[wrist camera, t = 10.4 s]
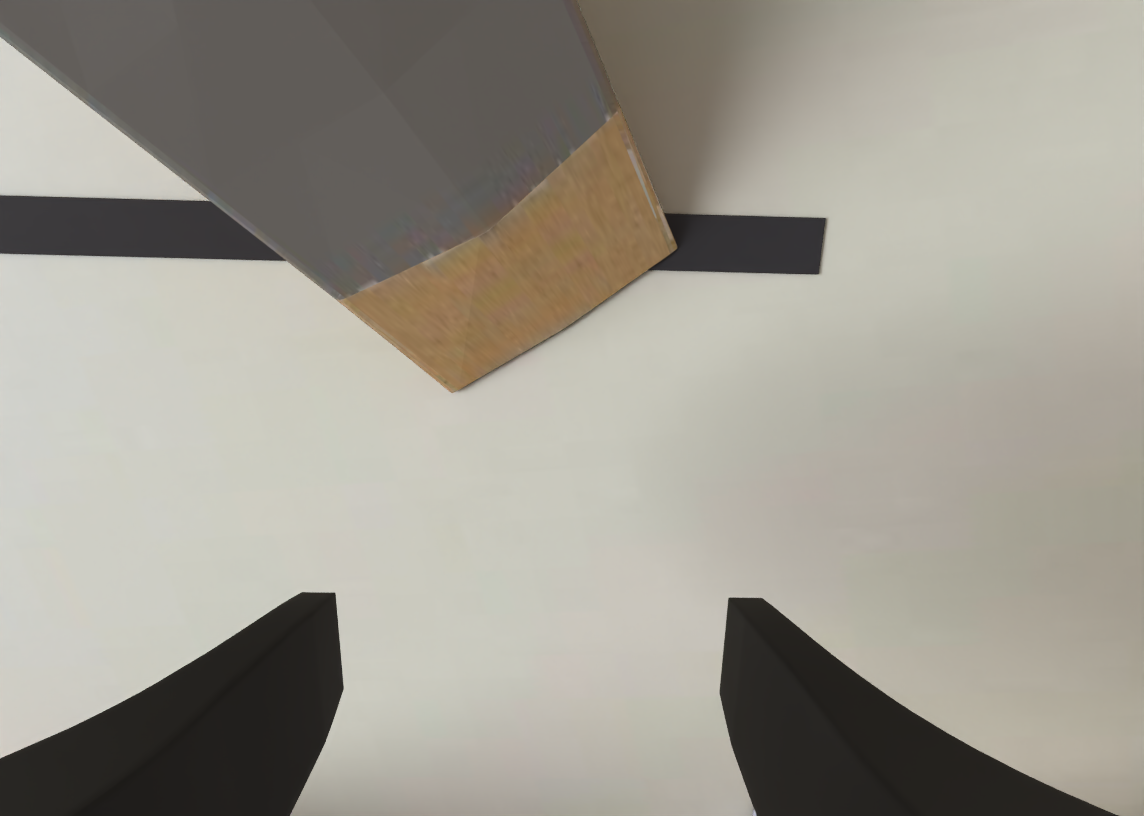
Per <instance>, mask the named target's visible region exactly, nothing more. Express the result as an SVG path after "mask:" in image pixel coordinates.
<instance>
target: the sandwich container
mask: <svg viewBox="0 0 1144 816" xmlns="http://www.w3.org/2000/svg"><path fill="white" fill-rule="evenodd" d="M0 37H1V38H2V39H4V40H5V41H6V42H8V43H9V44H10V45H11V46H13V47H14V48H15V49H16V50H18V51H19V52H20V53H22V54H23V55H24V56H25V57H27V58H28V59H29V60H30V61H32V62H33V63H34V64H36V65H37V66H38V67H39V68H41V69H42V70H43V71H44V72H46V73H47V74H48V75H50V76H51V77H52V78H53V79H55V80H56V81H57V82H58V83H60V84H61V85H62V86H64V87H65V88H66V89H67V90H69V91H70V92H71V93H72V94H74V95H75V96H76V97H78V98H79V99H80V100H81V101H83V102H84V103H85V104H87V105H88V106H89V107H90V108H92V109H93V110H94V111H95V112H97V113H98V114H99V115H101V116H102V117H103V118H104V119H106V120H107V121H108V122H110V123H111V124H112V125H113V126H115V127H116V128H117V129H119V130H120V131H121V132H122V133H124V134H125V135H126V136H128V137H129V138H130V139H131V140H133V141H134V142H135V143H137V144H138V145H139V146H140V147H142V148H143V149H144V150H145V151H147V152H148V153H149V154H151V155H152V156H153V157H154V158H156V159H157V160H158V161H160V162H161V163H162V164H163V165H165V166H166V167H167V168H169V169H170V170H171V171H172V172H174V173H175V174H176V175H178V176H179V177H180V178H181V179H183V180H184V181H185V182H187V183H188V184H189V185H190V186H192V187H193V188H194V189H195V190H197V191H198V192H199V193H201V194H202V195H203V196H204V197H206V198H207V199H208V200H210V201H211V202H212V203H213V204H215V205H216V206H217V207H219V208H220V209H221V210H222V211H224V212H225V213H226V214H227V215H229V216H230V217H231V218H233V219H234V220H235V221H236V222H238V223H239V224H240V225H242V226H243V227H244V228H245V229H247V230H248V231H249V232H250V233H252V234H253V235H254V236H256V237H257V238H258V239H259V240H261V241H262V242H263V243H265V244H266V245H267V246H268V247H270V248H271V249H272V250H274V251H275V252H276V253H277V254H279V255H280V256H281V257H282V258H284V259H285V260H286V261H288V262H289V263H290V264H291V265H293V266H294V267H295V268H297V269H298V270H299V271H300V272H302V273H303V274H304V275H305V276H307V277H308V278H309V279H311V280H312V281H313V282H314V283H316V284H317V285H318V286H320V287H321V288H322V289H323V290H325V291H326V292H327V293H328V294H330V295H331V296H332V297H334V298H335V299H336V300H337V301H339V302H340V303H341V304H342V305H344V306H345V307H346V308H347V309H348V310H350V311H351V312H352V313H353V314H355V315H356V316H357V317H358V318H360V319H361V320H362V321H363V322H365V323H366V324H367V325H368V326H370V327H371V328H372V329H373V330H375V331H376V332H377V333H378V334H380V335H381V336H382V337H383V338H385V339H386V340H387V341H388V342H390V343H391V344H392V345H393V346H394V347H396V348H397V349H398V350H399V351H401V352H402V353H403V354H404V355H406V356H407V357H408V358H409V359H411V360H412V361H413V362H414V363H415V364H417V365H418V366H419V367H420V368H422V369H423V370H424V371H425V372H426V373H428V374H429V375H430V376H431V377H432V378H434V379H435V380H436V381H437V382H439V383H440V384H441V385H442V386H443V387H445V388H446V389H447V390H448V391H450V392H451V393H454V392H456V391H457V390H459V389H461V388H463V387H464V386H466V385H468V384H470V383H471V382H473V381H475V380H477V379H478V378H480V377H482V376H483V375H485V374H487V373H489V372H490V371H492V370H494V369H495V368H497V367H499V366H501V365H502V364H504V363H506V362H508V361H509V360H511V359H513V358H514V357H516V356H518V355H520V354H521V353H523V352H525V351H527V350H528V349H530V348H532V347H533V346H535V345H537V344H539V343H540V342H542V341H544V340H545V339H547V338H549V337H551V336H552V335H554V334H556V333H558V332H559V331H561V330H563V329H564V328H566V327H567V326H569V325H570V324H572V323H573V322H575V321H576V320H577V319H579V318H580V317H582V316H583V315H584V314H586V313H587V312H589V311H590V310H592V309H593V308H594V307H596V306H597V305H599V304H600V303H601V302H603V301H604V300H606V299H607V298H609V297H610V296H611V295H613V294H614V293H616V292H617V291H618V290H620V289H621V288H623V287H624V286H626V285H627V284H628V283H630V282H631V281H633V280H634V279H635V278H637V277H638V276H640V275H641V274H643V273H644V272H645V271H647V270H648V269H650V268H651V267H652V266H654V265H655V264H657V263H658V262H660V261H661V260H662V259H664V258H665V257H667V256H668V255H669V254H671V253H672V252H674V251H675V250H676V249H677V244H676V242H675V240H674V237H673V235H672V232H671V230H670V227H669V225H668V223H667V220H666V218H665V215H664V213H663V210H662V208H661V205H660V203H659V201H658V198H657V196H656V193H655V191H654V188H653V186H652V184H651V181H650V179H649V176H648V174H647V171H646V169H645V167H644V164H643V162H642V159H641V157H640V154H639V152H638V149H637V147H636V145H635V142H634V140H633V137H632V135H631V132H630V130H629V128H628V125H627V123H626V120H625V118H624V115H623V113H622V110H621V108H620V106H619V103H618V101H617V98H616V96H615V93H614V91H613V88H612V86H611V83H610V81H609V79H608V76H607V74H606V71H605V69H604V66H603V64H602V61H601V59H600V56H599V54H598V52H597V49H596V47H595V44H594V42H593V39H592V37H591V34H590V32H589V29H588V27H587V25H586V22H585V20H584V17H583V15H582V12H581V10H580V7H579V5H578V2H577V0H0Z"/></svg>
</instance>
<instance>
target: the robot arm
mask: <svg viewBox="0 0 1144 816" xmlns="http://www.w3.org/2000/svg"><path fill="white" fill-rule="evenodd" d="M343 689H344V688H343V676H342V665H341V653H340V641H339V630H338V618H337V607H336V595H335V593H309V592H302V593H300V594H298V595H296V596H294V597H293V598H291V599H289V600H288V601H286V602H284V603H283V604H281V605H280V606H278V607H277V608H275V609H273V610H272V611H270V612H269V613H267V614H266V615H264V616H263V617H261V618H260V619H258V620H257V621H255V622H254V623H252V624H251V625H249V626H248V627H246V628H245V629H243V630H241V631H240V632H238V633H237V634H235V635H234V636H232V637H231V638H229V639H228V640H226V641H224V642H223V643H221V644H220V645H218V646H217V647H215V648H214V649H212V650H211V651H209V652H207V653H206V654H204V655H202V656H201V657H199V658H197V659H196V660H194V661H192V662H191V663H189V664H187V665H186V666H184V667H182V668H181V669H179V670H177V671H176V672H174V673H172V674H171V675H169V676H167V677H166V678H164V679H162V680H161V681H159V682H157V683H156V684H154V685H152V686H151V687H149V688H147V689H145V690H143V691H142V692H140V693H138V694H136V695H134V696H132V697H131V698H129V699H127V700H125V701H123V702H121V703H119V704H117V705H115V706H113V707H111V708H109V709H107V710H105V711H103V712H102V713H100V714H98V715H96V716H94V717H92V718H90V719H88V720H86V721H84V722H82V723H79V724H77V725H75V726H73V727H71V728H69V729H67V730H64V731H62V732H60V733H58V734H55V735H53V736H51V737H48V738H46V739H44V740H42V741H39V742H37V743H35V744H32V745H30V746H28V747H26V748H23V749H21V750H19V751H16V752H14V753H12V754H10V755H7V756H5V757H3V758H0V816H290V814H291V812H292V810H293V808H294V806H295V804H296V802H297V800H298V798H299V796H300V794H301V792H302V790H303V788H304V786H305V784H306V781H307V779H308V777H309V775H310V773H311V771H312V769H313V767H314V765H315V763H316V761H317V759H318V757H319V755H320V752H321V750H322V748H323V746H324V744H325V742H326V739H327V736H328V733H329V731H330V728H331V725H332V722H333V719H334V716H335V713H336V710H337V707H338V704H339V701H340V698H341V695H342V692H343ZM720 696H721V701H722V706H723V710H724V715H725V719H726V724H727V728H728V732H729V736H730V741H731V745H732V748H733V751H734V754H735V757H736V759H737V762H738V765H739V768H740V771H741V773H742V776H743V779H744V782H745V785H746V787H747V790H748V793H749V796H750V798H751V801H752V804H753V807H754V809H753V816H1118V815H1115V814H1113V813H1110V812H1108V811H1105V810H1103V809H1101V808H1099V807H1096V806H1094V805H1092V804H1089V803H1087V802H1085V801H1082V800H1080V799H1078V798H1076V797H1073V796H1071V795H1069V794H1066V793H1064V792H1062V791H1059V790H1057V789H1055V788H1053V787H1051V786H1049V785H1046V784H1044V783H1042V782H1040V781H1038V780H1036V779H1034V778H1032V777H1029V776H1027V775H1025V774H1023V773H1021V772H1019V771H1017V770H1015V769H1013V768H1011V767H1009V766H1007V765H1006V764H1004V763H1002V762H1000V761H998V760H996V759H994V758H992V757H990V756H988V755H986V754H984V753H982V752H980V751H978V750H976V749H975V748H973V747H971V746H969V745H967V744H966V743H964V742H962V741H960V740H958V739H957V738H955V737H953V736H951V735H950V734H948V733H946V732H945V731H943V730H941V729H940V728H938V727H936V726H935V725H933V724H931V723H930V722H928V721H926V720H925V719H923V718H922V717H920V716H918V715H917V714H915V713H913V712H912V711H910V710H909V709H907V708H906V707H904V706H902V705H901V704H899V703H898V702H896V701H895V700H893V699H892V698H890V697H889V696H888V695H886V694H885V693H883V692H882V691H881V690H879V689H878V688H876V687H875V686H873V685H872V684H871V683H869V682H868V681H866V680H865V679H864V678H862V677H861V676H859V675H858V674H857V673H855V672H854V671H853V670H851V669H850V668H849V667H847V666H846V665H845V664H843V663H842V662H841V661H840V660H838V659H837V658H836V657H834V656H833V655H832V654H831V653H829V652H828V651H827V650H826V649H824V648H823V647H822V646H821V645H819V644H818V643H817V642H816V641H814V640H813V639H812V638H811V637H809V636H808V635H807V634H806V633H805V632H803V631H802V630H801V629H800V628H799V627H797V626H796V625H795V624H794V623H793V622H791V621H790V620H789V619H788V618H786V617H785V616H784V615H783V614H782V613H780V612H779V611H778V610H777V609H775V608H774V607H773V606H772V605H770V604H769V603H768V602H766V601H765V600H764V599H762V598H729V599H728V610H727V620H726V631H725V641H724V652H723V663H722V673H721V684H720Z"/></svg>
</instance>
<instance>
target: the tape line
mask: <svg viewBox="0 0 1144 816" xmlns="http://www.w3.org/2000/svg"><path fill="white" fill-rule="evenodd" d="M664 215H665V218H666V220H667V223H668V225H669V227H670V230H671V232H672V235H673V237H674V240H675V242H676V244H677V249H676V250H675V251H674V252H672V253H671V254H669V255H668V256H667V257H665V258H664V259H662V260H661V261H660V262H658V263H657V264H655V265H654V266H652V267H651V268H650V269H648V270H669V271H708V272H747V273H786V274H819V266H820V258H821V250H822V242H823V234H824V226H825V218H798V217H762V216H725V215H689V214H664ZM0 253H8V254H47V255H86V256H125V257H164V258H203V259H241V260H280V261H286V260H285V259H284V258H282V257H281V256H280V255H279V254H277V253H276V252H275V251H274V250H272V249H271V248H270V247H268V246H267V245H266V244H265V243H263V242H262V241H261V240H259V239H258V238H257V237H256V236H254V235H253V234H252V233H250V232H249V231H248V230H247V229H245V228H244V227H243V226H242V225H240V224H239V223H238V222H236V221H235V220H234V219H233V218H231V217H230V216H229V215H227V214H226V213H225V212H224V211H222V210H221V209H220V208H219V207H217V206H216V205H215V204H213V203H212V202H211V201H178V200H142V199H105V198H69V197H32V196H0Z"/></svg>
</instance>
